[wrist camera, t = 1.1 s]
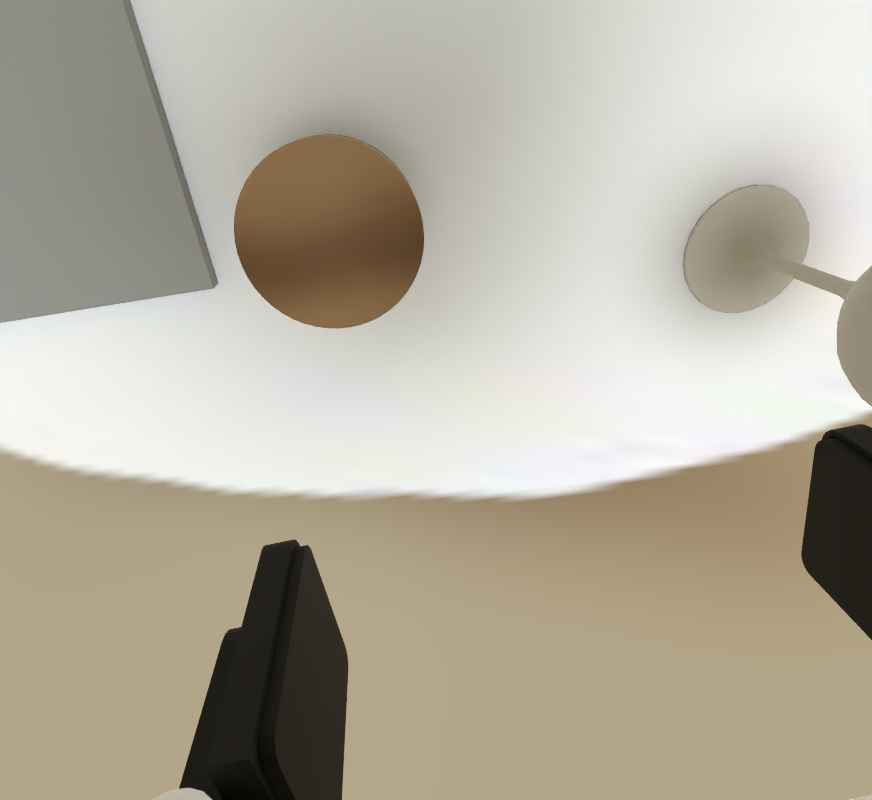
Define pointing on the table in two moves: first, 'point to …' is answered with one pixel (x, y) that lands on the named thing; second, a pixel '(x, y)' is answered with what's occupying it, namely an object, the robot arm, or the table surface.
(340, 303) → the stool
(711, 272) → the wineglass
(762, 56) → the table surface
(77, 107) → the mat
